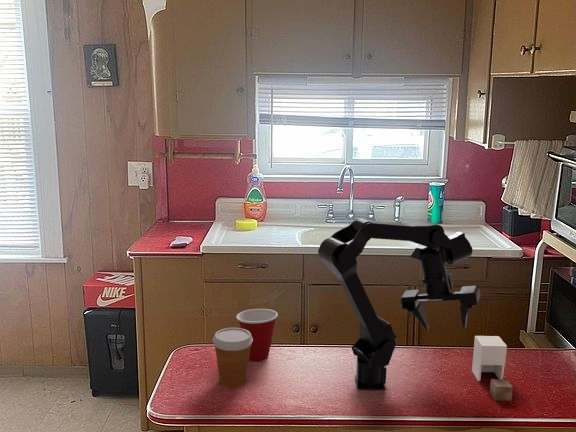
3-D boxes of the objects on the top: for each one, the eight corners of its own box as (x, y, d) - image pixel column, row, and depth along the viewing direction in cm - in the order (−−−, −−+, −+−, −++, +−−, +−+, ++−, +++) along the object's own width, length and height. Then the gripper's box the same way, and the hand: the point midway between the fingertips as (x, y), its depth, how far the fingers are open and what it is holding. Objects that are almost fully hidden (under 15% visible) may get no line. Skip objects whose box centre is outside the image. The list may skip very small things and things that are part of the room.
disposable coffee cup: (204, 381, 150) (204, 334, 147) (234, 368, 157) (234, 323, 154) (231, 394, 144) (231, 346, 141) (260, 381, 150) (261, 334, 148)
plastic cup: (255, 344, 171) (255, 303, 169) (285, 355, 165) (286, 313, 162) (227, 357, 163) (227, 314, 161) (258, 369, 156) (258, 324, 154)
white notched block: (478, 381, 152) (482, 345, 150) (471, 370, 158) (474, 335, 156) (503, 382, 152) (507, 346, 150) (495, 371, 158) (498, 336, 156)
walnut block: (494, 400, 143) (496, 386, 143) (489, 392, 147) (490, 379, 146) (511, 401, 143) (512, 387, 143) (505, 393, 147) (507, 379, 146)
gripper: (478, 255, 154) (488, 313, 157) (405, 262, 163) (416, 316, 166) (471, 272, 144) (482, 333, 148) (394, 278, 153) (406, 335, 156)
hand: (446, 328), depth 155 cm, fingers open, 9 cm apart
